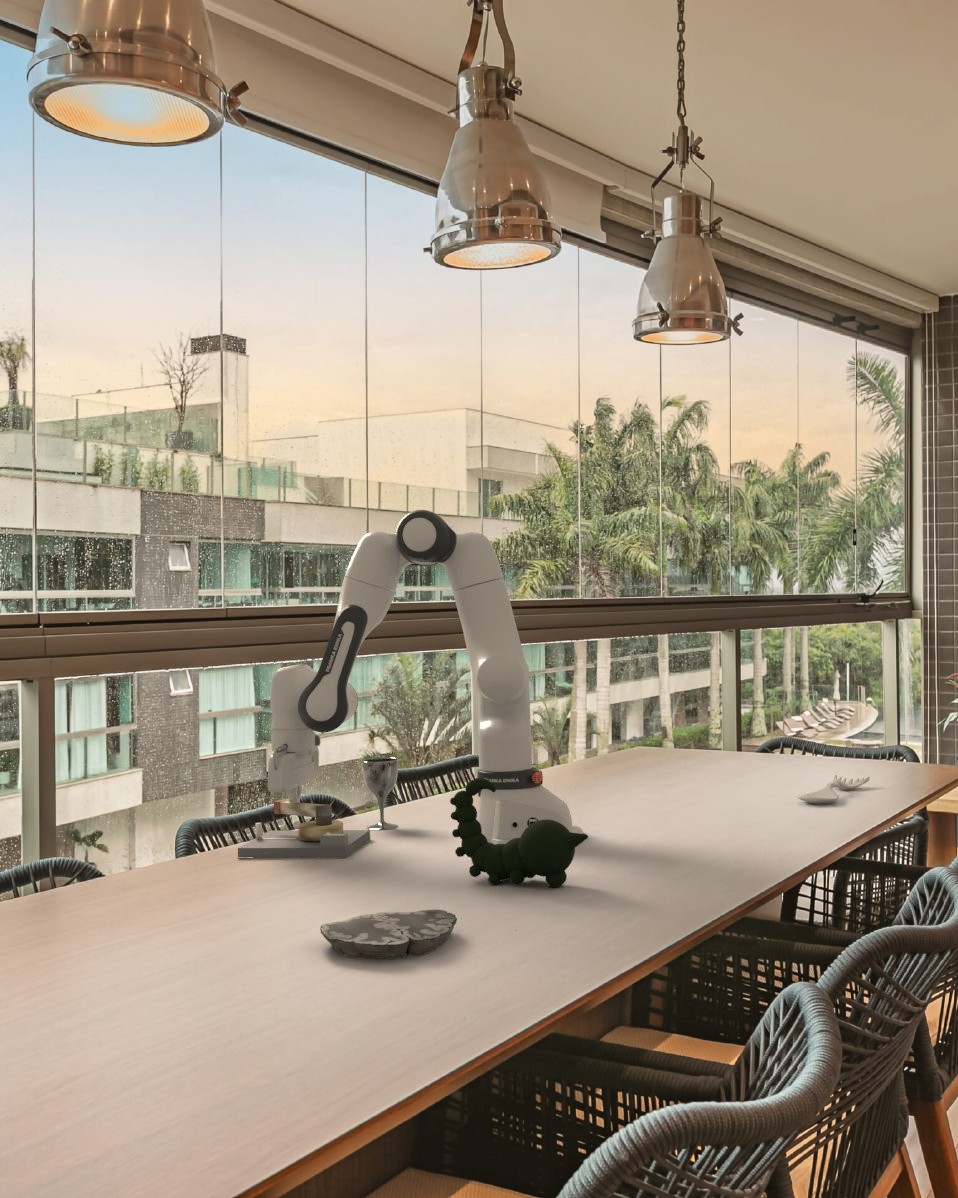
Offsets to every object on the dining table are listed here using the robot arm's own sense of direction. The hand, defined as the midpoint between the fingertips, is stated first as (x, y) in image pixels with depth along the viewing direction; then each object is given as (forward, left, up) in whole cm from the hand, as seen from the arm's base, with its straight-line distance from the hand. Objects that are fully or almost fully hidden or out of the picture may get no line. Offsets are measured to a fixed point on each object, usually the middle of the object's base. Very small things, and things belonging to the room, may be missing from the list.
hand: (294, 807), depth 237 cm
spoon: (-116, -53, -8) cm, 127 cm away
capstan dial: (-4, +4, -5) cm, 7 cm away
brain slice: (-39, +72, -8) cm, 83 cm away
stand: (-4, +6, -7) cm, 11 cm away
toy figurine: (-52, +35, -8) cm, 64 cm away
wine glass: (-14, -17, -7) cm, 23 cm away
